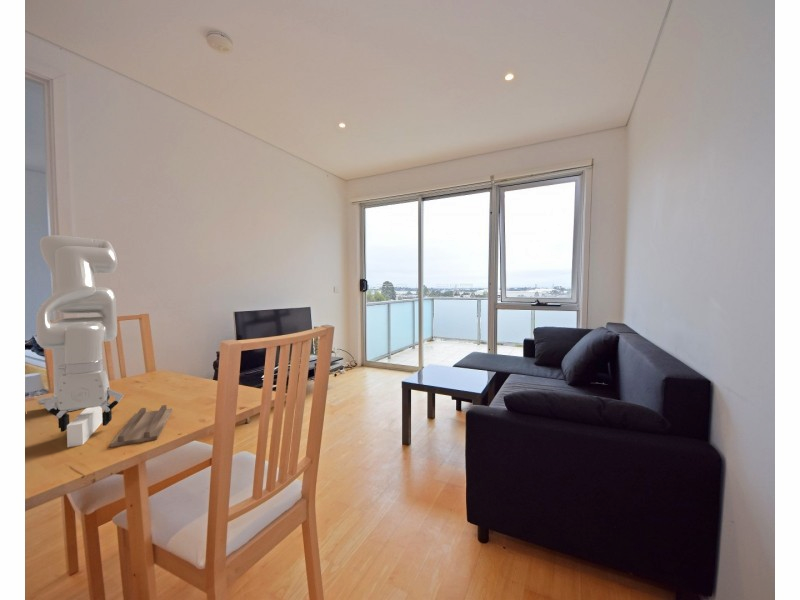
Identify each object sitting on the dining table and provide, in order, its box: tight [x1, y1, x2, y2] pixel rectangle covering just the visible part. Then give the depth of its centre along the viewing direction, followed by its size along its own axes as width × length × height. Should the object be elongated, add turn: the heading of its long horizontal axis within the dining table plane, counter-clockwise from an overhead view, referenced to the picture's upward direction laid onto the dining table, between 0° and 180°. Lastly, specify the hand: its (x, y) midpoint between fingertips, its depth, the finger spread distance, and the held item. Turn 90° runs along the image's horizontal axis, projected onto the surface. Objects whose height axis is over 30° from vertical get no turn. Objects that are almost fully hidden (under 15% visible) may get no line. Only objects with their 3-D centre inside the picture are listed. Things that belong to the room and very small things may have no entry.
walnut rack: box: [109, 404, 173, 448], centre depth 95 cm, size 10×22×2 cm, turn 27°
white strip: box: [66, 406, 103, 448], centre depth 91 cm, size 3×16×6 cm, turn 30°
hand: (86, 426), depth 91 cm, fingers open, 8 cm apart
